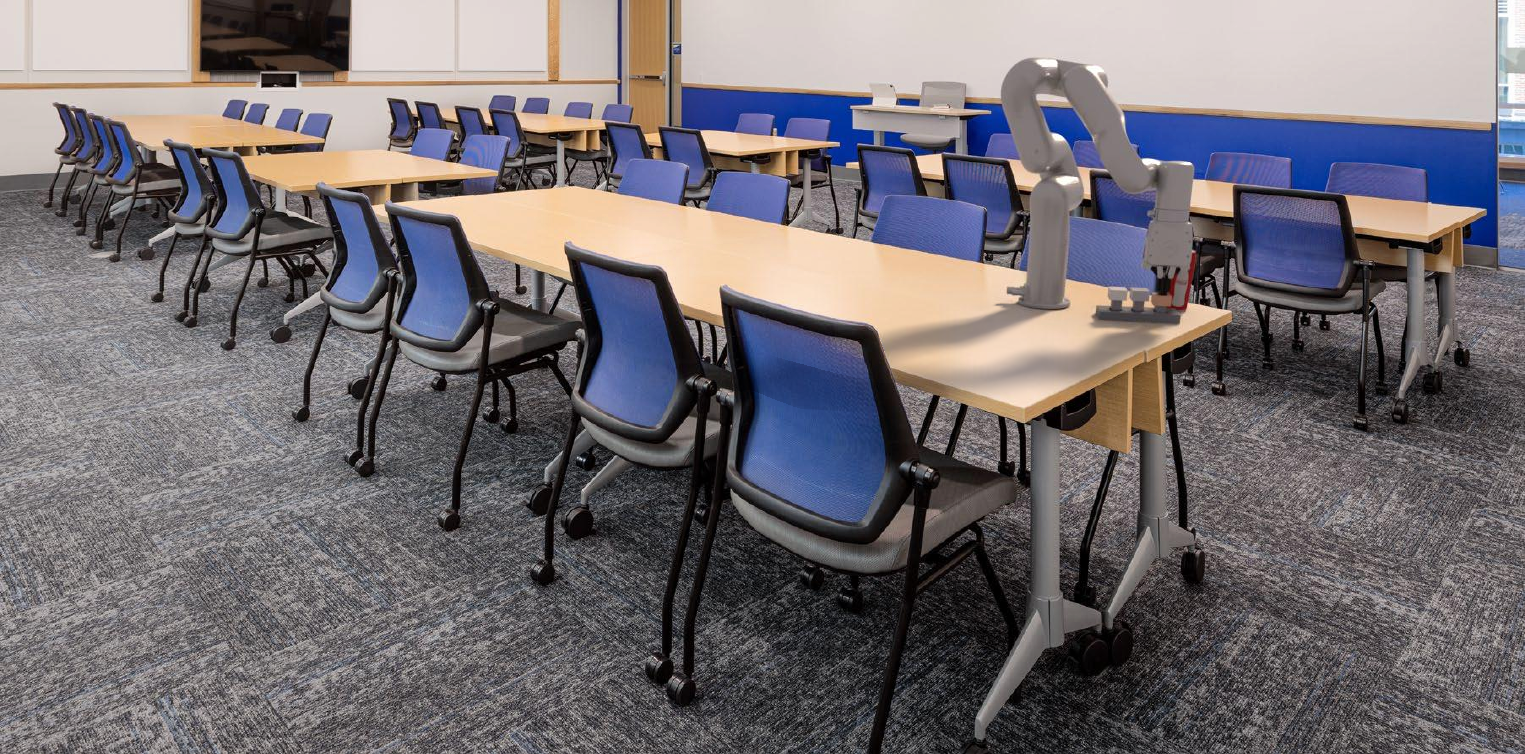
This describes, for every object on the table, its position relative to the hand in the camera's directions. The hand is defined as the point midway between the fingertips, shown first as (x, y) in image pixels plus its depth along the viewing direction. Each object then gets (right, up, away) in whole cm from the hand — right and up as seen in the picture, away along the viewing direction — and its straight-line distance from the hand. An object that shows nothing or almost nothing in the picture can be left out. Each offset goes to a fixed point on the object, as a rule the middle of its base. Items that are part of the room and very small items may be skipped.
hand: (1162, 294), depth 244 cm
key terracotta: (0, -5, +2) cm, 5 cm away
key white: (-10, -3, +3) cm, 11 cm away
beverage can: (+8, -3, +12) cm, 14 cm away
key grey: (-5, -4, +2) cm, 7 cm away
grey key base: (-5, -6, +3) cm, 8 cm away
